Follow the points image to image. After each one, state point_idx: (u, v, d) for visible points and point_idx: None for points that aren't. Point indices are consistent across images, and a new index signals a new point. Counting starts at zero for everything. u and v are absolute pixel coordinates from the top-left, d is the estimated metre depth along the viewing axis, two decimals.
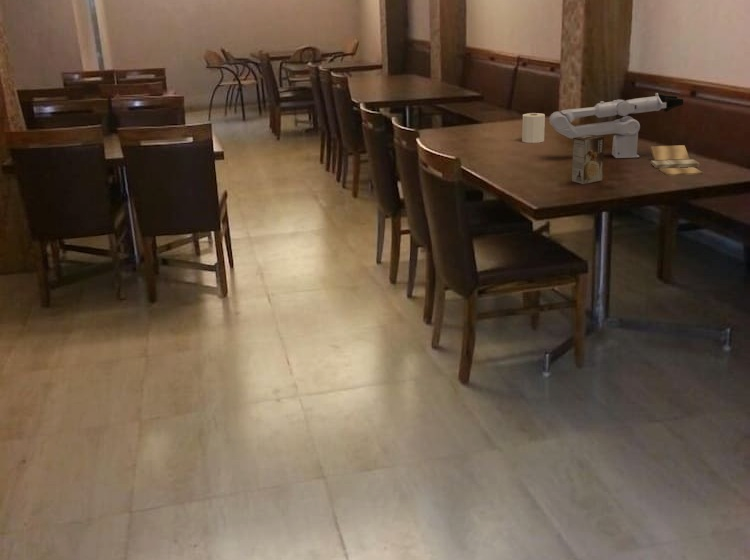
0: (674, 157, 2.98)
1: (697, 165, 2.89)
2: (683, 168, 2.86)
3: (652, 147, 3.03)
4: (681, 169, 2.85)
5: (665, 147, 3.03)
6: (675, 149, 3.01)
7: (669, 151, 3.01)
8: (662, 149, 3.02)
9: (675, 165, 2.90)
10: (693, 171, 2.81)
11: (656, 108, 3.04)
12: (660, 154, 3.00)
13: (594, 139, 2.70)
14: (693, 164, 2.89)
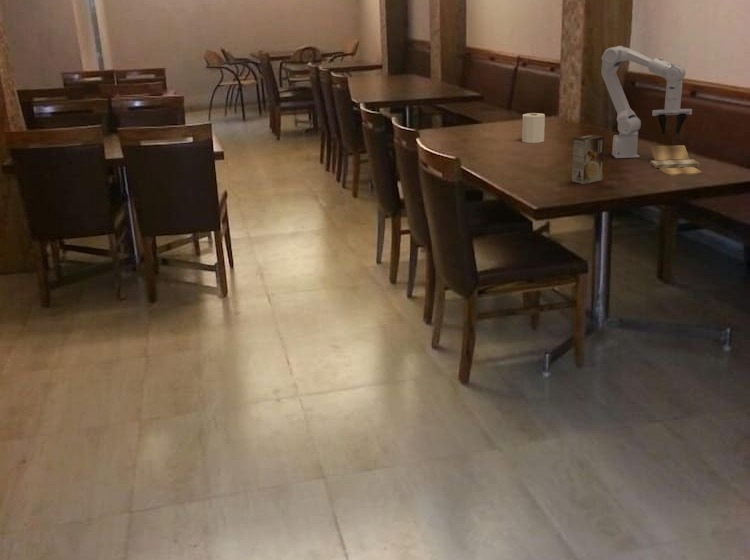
0: (674, 157, 2.98)
1: (697, 165, 2.89)
2: (683, 168, 2.86)
3: (652, 147, 3.03)
4: (681, 169, 2.85)
5: (665, 147, 3.03)
6: (675, 149, 3.01)
7: (669, 151, 3.01)
8: (662, 149, 3.02)
9: (675, 165, 2.90)
10: (693, 171, 2.81)
11: None
12: (660, 154, 3.00)
13: (594, 139, 2.70)
14: (693, 164, 2.89)
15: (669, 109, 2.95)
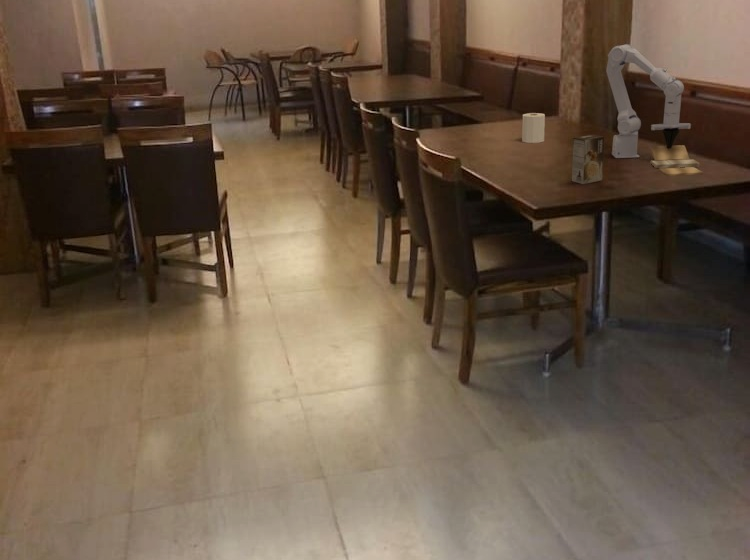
0: (674, 157, 2.98)
1: (697, 165, 2.89)
2: (683, 168, 2.86)
3: (652, 147, 3.03)
4: (681, 169, 2.85)
5: (665, 147, 3.03)
6: (675, 149, 3.01)
7: (669, 151, 3.01)
8: (662, 149, 3.02)
9: (675, 165, 2.90)
10: (693, 171, 2.81)
11: None
12: (660, 154, 3.00)
13: (594, 139, 2.70)
14: (693, 164, 2.89)
15: (668, 124, 2.96)
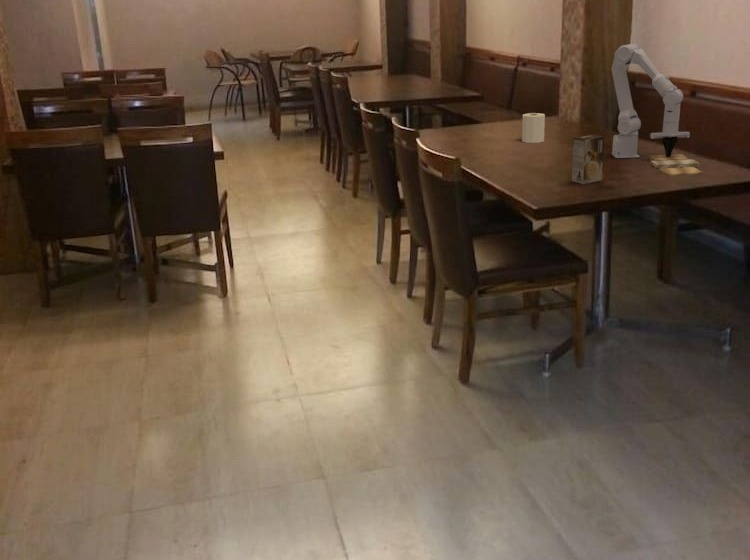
0: (673, 158, 2.99)
1: (697, 165, 2.89)
2: (683, 168, 2.86)
3: None
4: (681, 169, 2.85)
5: (663, 155, 3.05)
6: (674, 156, 3.04)
7: None
8: (661, 156, 3.04)
9: (675, 165, 2.90)
10: (693, 171, 2.81)
11: None
12: (659, 158, 3.02)
13: (594, 139, 2.70)
14: (693, 164, 2.89)
15: (667, 132, 2.98)
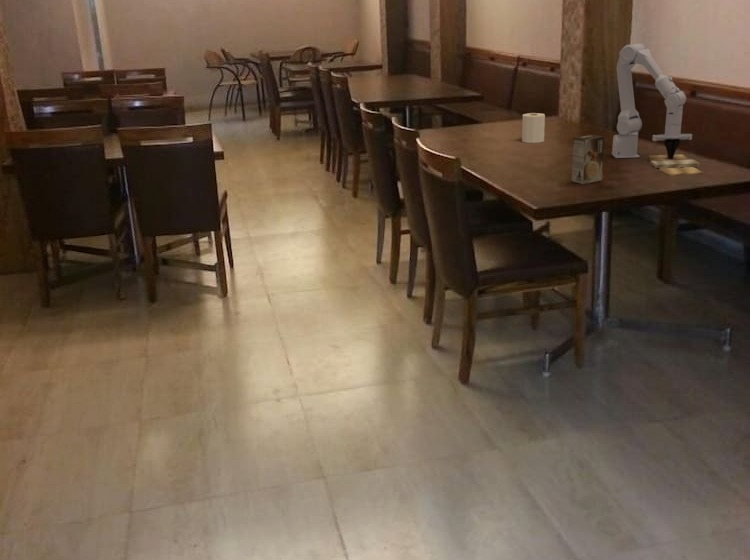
0: (673, 158, 2.99)
1: (697, 165, 2.89)
2: (683, 168, 2.86)
3: None
4: (681, 169, 2.85)
5: (663, 155, 3.05)
6: (674, 156, 3.04)
7: None
8: (661, 156, 3.04)
9: (675, 165, 2.90)
10: (693, 171, 2.81)
11: None
12: (659, 158, 3.02)
13: (594, 139, 2.70)
14: (693, 164, 2.89)
15: (669, 134, 2.95)
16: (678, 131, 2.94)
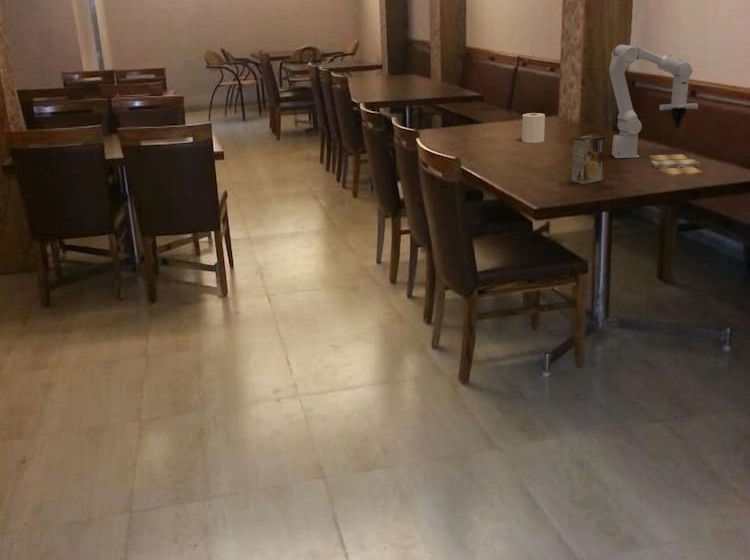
0: (673, 158, 2.99)
1: (697, 165, 2.89)
2: (683, 168, 2.86)
3: None
4: (681, 169, 2.85)
5: (663, 155, 3.05)
6: (674, 156, 3.04)
7: (668, 156, 3.03)
8: (661, 156, 3.04)
9: (675, 165, 2.90)
10: (693, 171, 2.81)
11: None
12: (659, 158, 3.02)
13: (594, 139, 2.70)
14: (693, 164, 2.89)
15: (676, 103, 3.07)
16: (684, 100, 3.06)
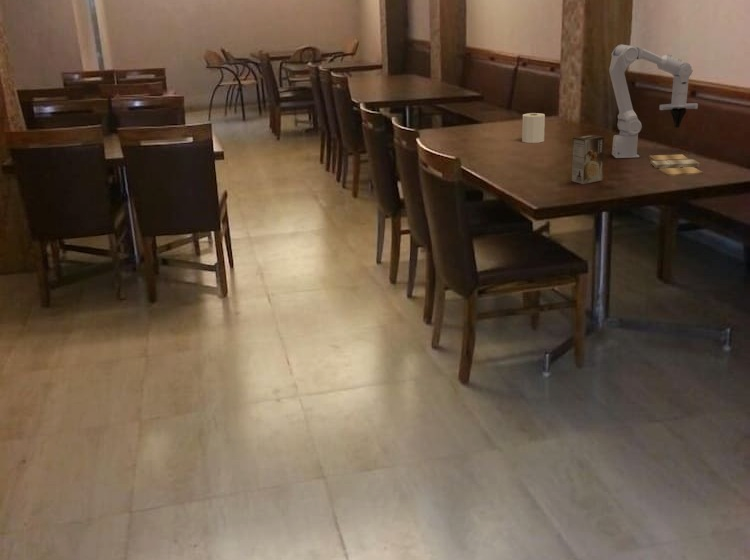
0: (673, 158, 2.99)
1: (697, 165, 2.89)
2: (683, 168, 2.86)
3: None
4: (681, 169, 2.85)
5: (663, 155, 3.05)
6: (674, 156, 3.04)
7: (668, 156, 3.03)
8: (661, 156, 3.04)
9: (675, 165, 2.90)
10: (693, 171, 2.81)
11: None
12: (659, 158, 3.02)
13: (594, 139, 2.70)
14: (693, 164, 2.89)
15: (676, 103, 3.07)
16: (684, 100, 3.06)
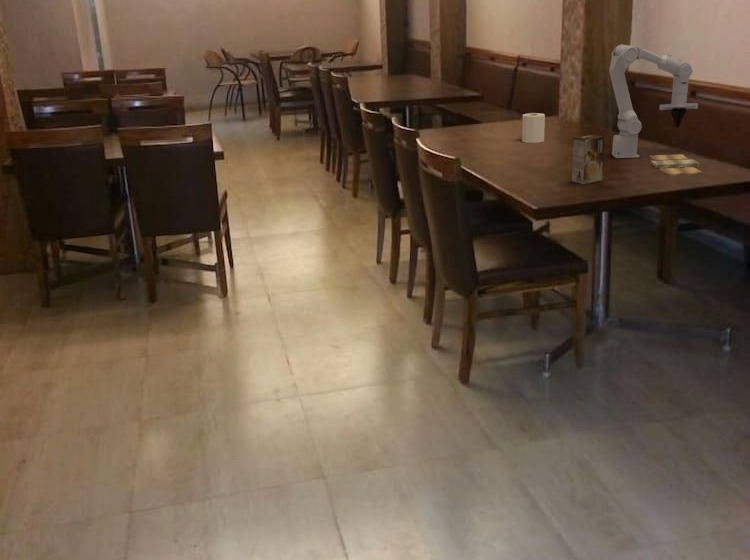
0: (673, 158, 2.99)
1: (697, 165, 2.89)
2: (683, 168, 2.86)
3: None
4: (681, 169, 2.85)
5: (663, 155, 3.05)
6: (674, 156, 3.04)
7: (668, 156, 3.03)
8: (661, 156, 3.04)
9: (675, 165, 2.90)
10: (693, 171, 2.81)
11: None
12: (659, 158, 3.02)
13: (594, 139, 2.70)
14: (693, 164, 2.89)
15: (676, 103, 3.07)
16: (684, 100, 3.06)
